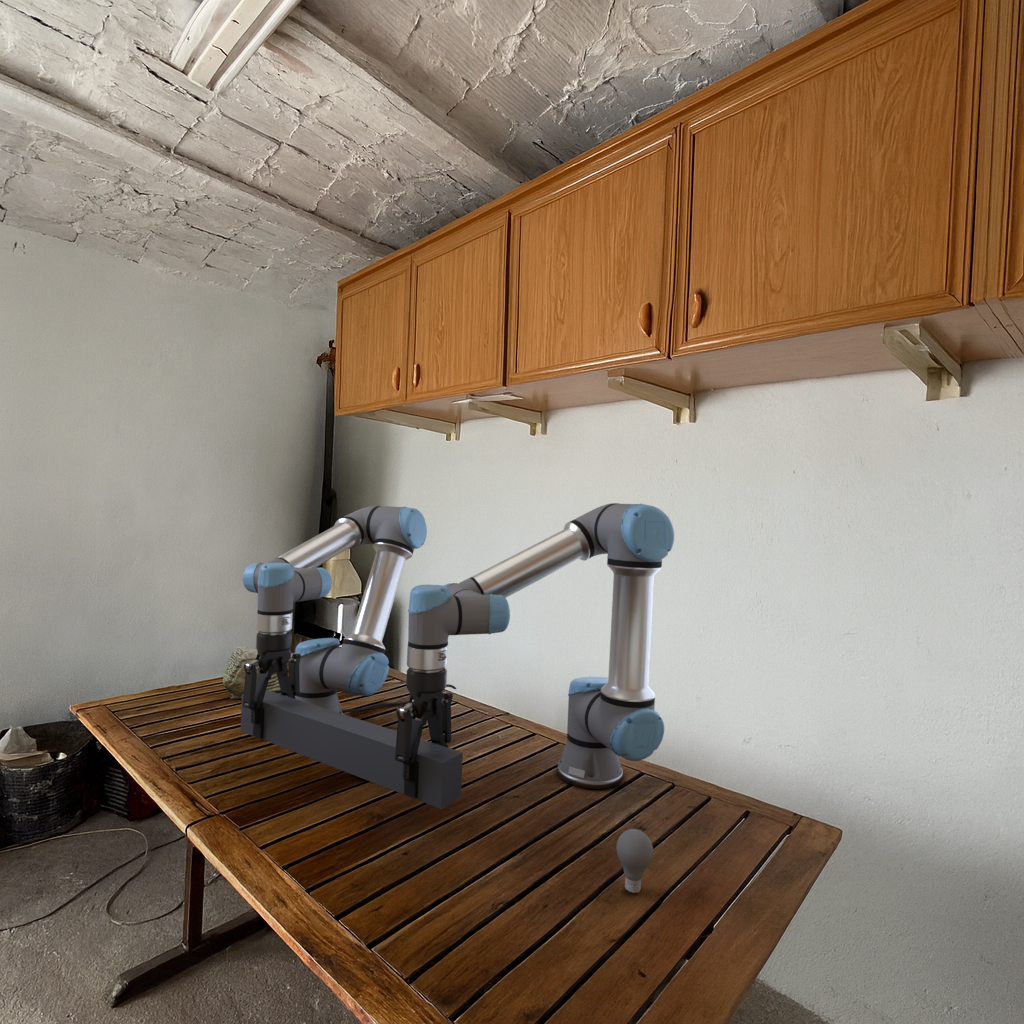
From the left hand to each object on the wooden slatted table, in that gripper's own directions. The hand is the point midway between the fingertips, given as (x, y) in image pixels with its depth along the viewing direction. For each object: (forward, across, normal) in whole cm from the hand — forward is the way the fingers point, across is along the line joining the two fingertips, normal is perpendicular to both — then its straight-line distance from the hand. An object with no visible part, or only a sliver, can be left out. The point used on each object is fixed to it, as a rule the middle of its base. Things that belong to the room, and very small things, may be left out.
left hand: (271, 732), depth 144 cm
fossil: (+9, +31, +50) cm, 60 cm away
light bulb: (+9, +8, -84) cm, 85 cm away
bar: (+1, 0, -22) cm, 23 cm away
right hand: (0, 0, -45) cm, 45 cm away
